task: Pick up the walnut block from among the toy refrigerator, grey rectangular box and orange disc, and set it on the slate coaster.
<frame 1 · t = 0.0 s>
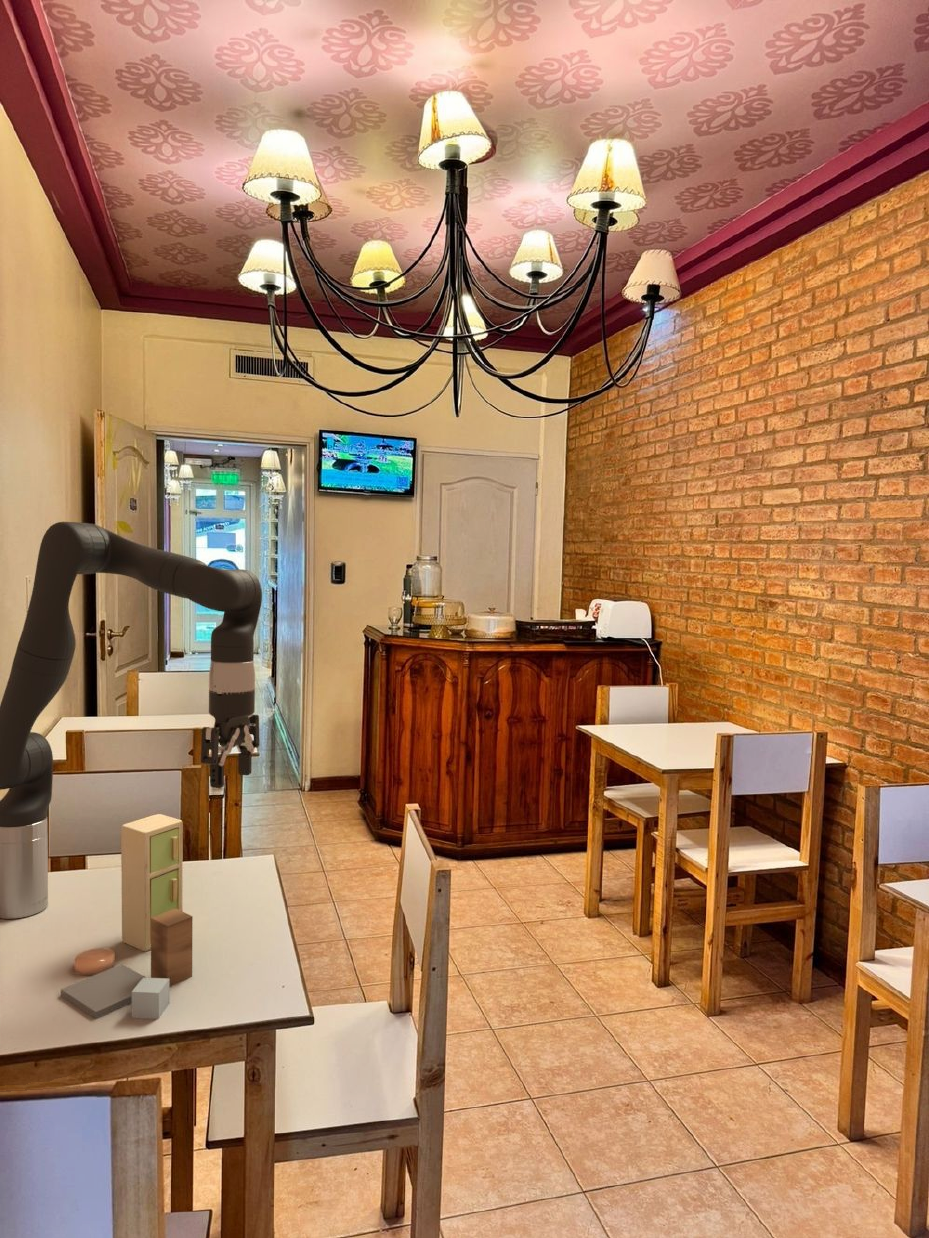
hand: (231, 780, 138), 29 cm above the table, tool pointing down, fingers open, 8 cm apart
walnut block: (171, 977, 129), on the table
slate coaster: (109, 992, 124), on the table
orange disc: (94, 965, 132), on the table
grey rectangular box: (151, 1010, 120), on the table
toy refrigerator: (153, 940, 142), on the table
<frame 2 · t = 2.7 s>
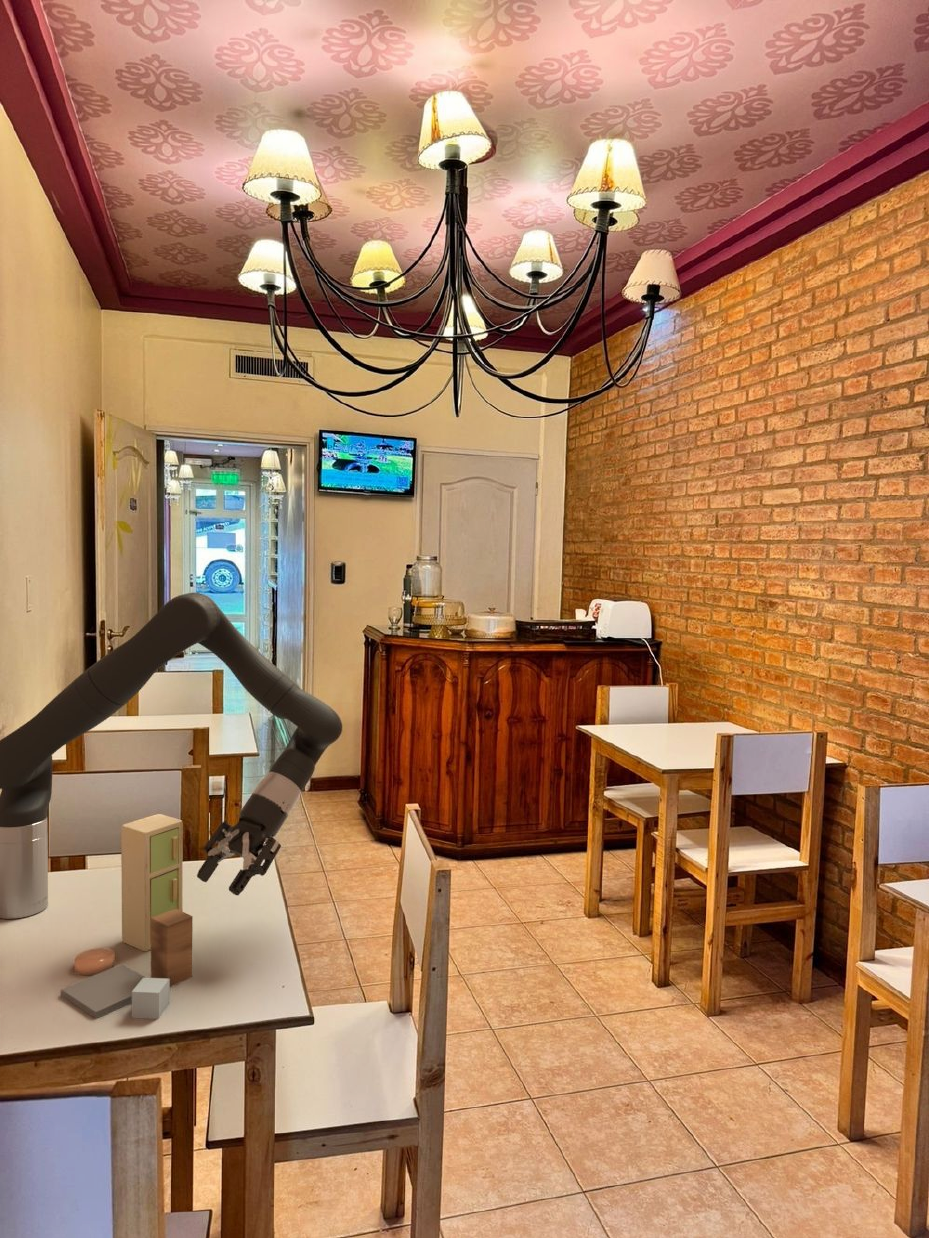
hand: (216, 886, 136), 12 cm above the table, tool tilted 45°, fingers open, 8 cm apart
nothing on the table moved.
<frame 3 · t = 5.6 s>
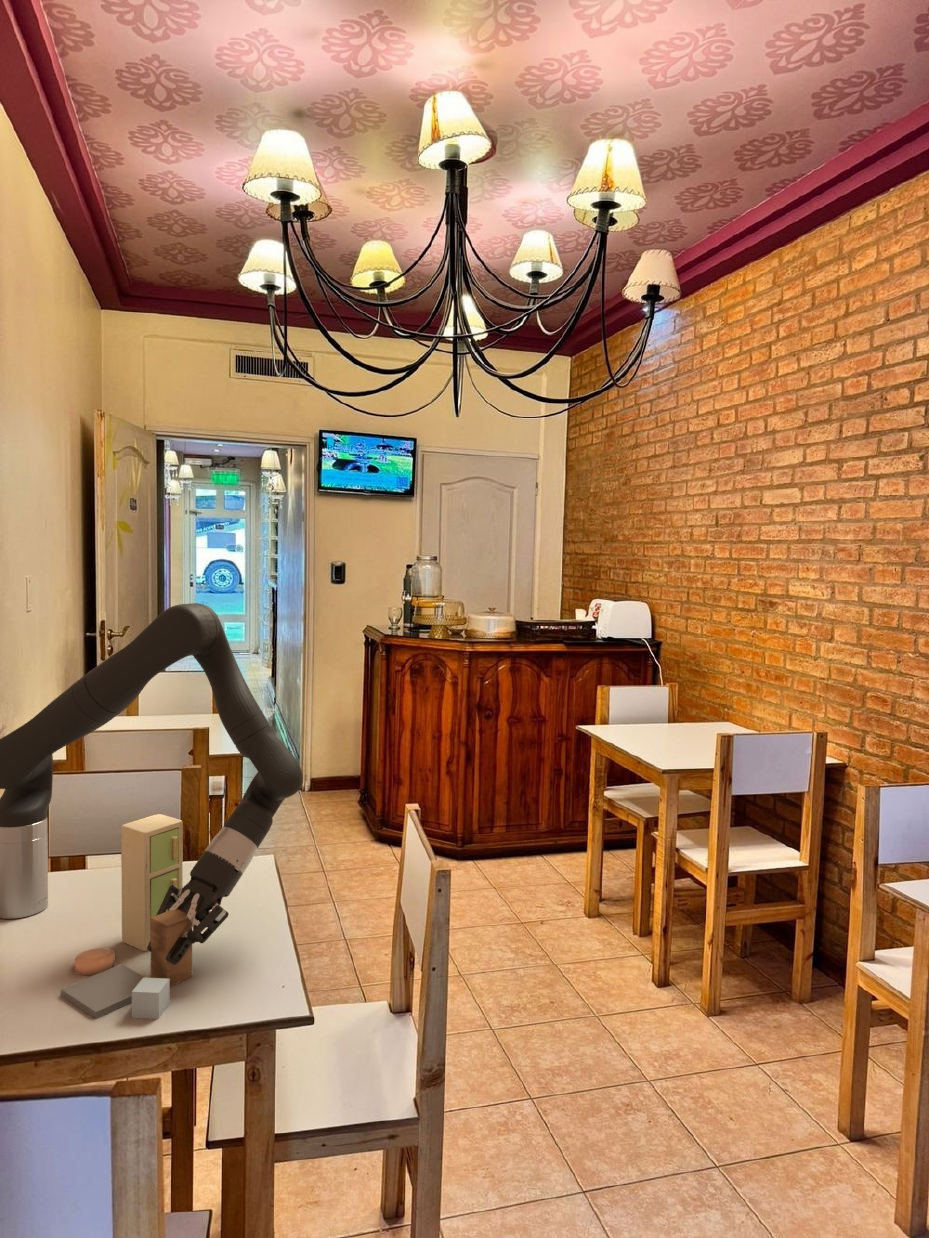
hand: (161, 956, 128), 4 cm above the table, tool tilted 45°, fingers closed on walnut block, 4 cm apart
walnut block: (171, 977, 129), on the table, touching gripper
everything else where it was.
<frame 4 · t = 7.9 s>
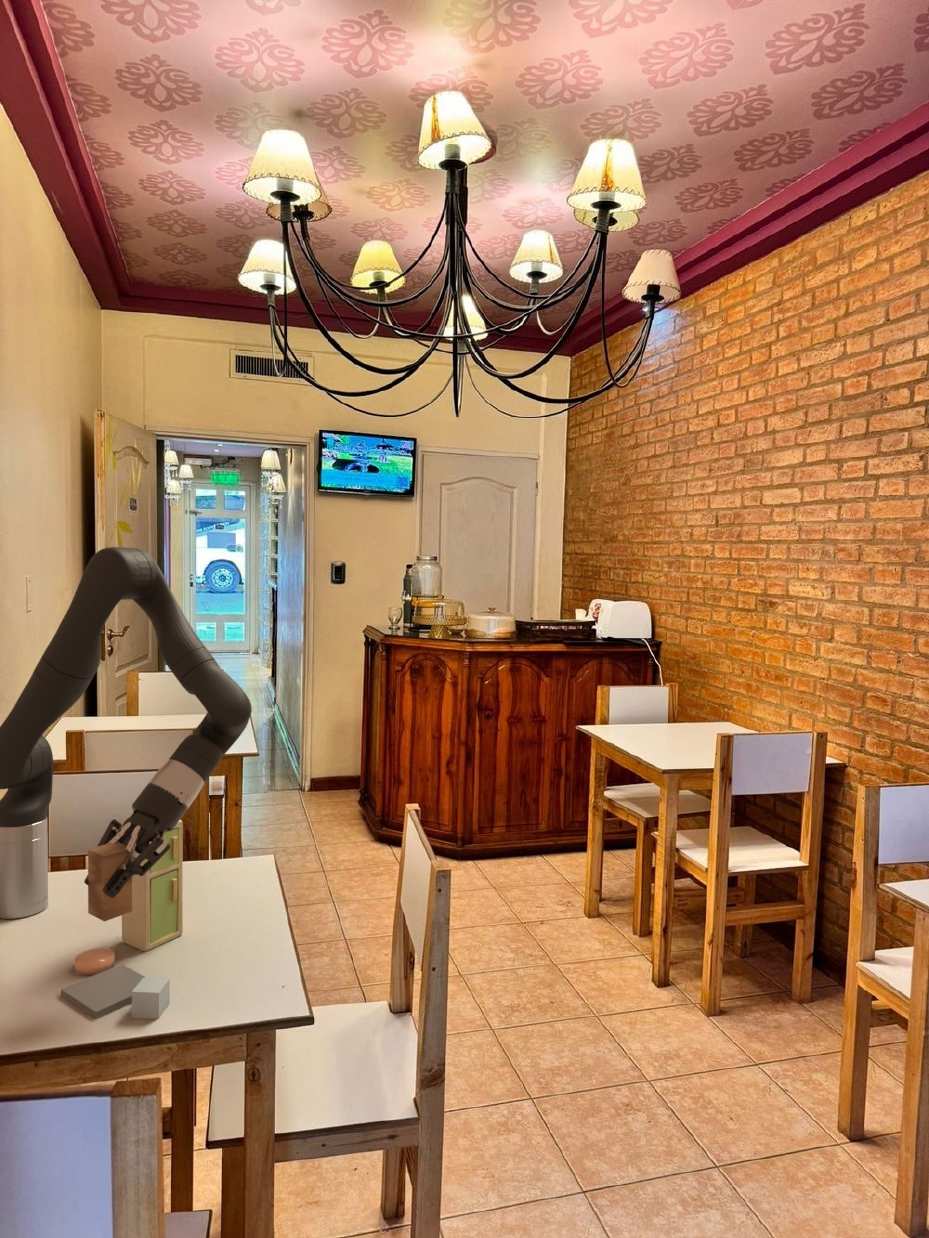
hand: (98, 889, 122), 17 cm above the table, tool tilted 45°, fingers closed on walnut block, 4 cm apart
walnut block: (110, 912, 124), point 13 cm above the table, touching gripper
everything else where it was.
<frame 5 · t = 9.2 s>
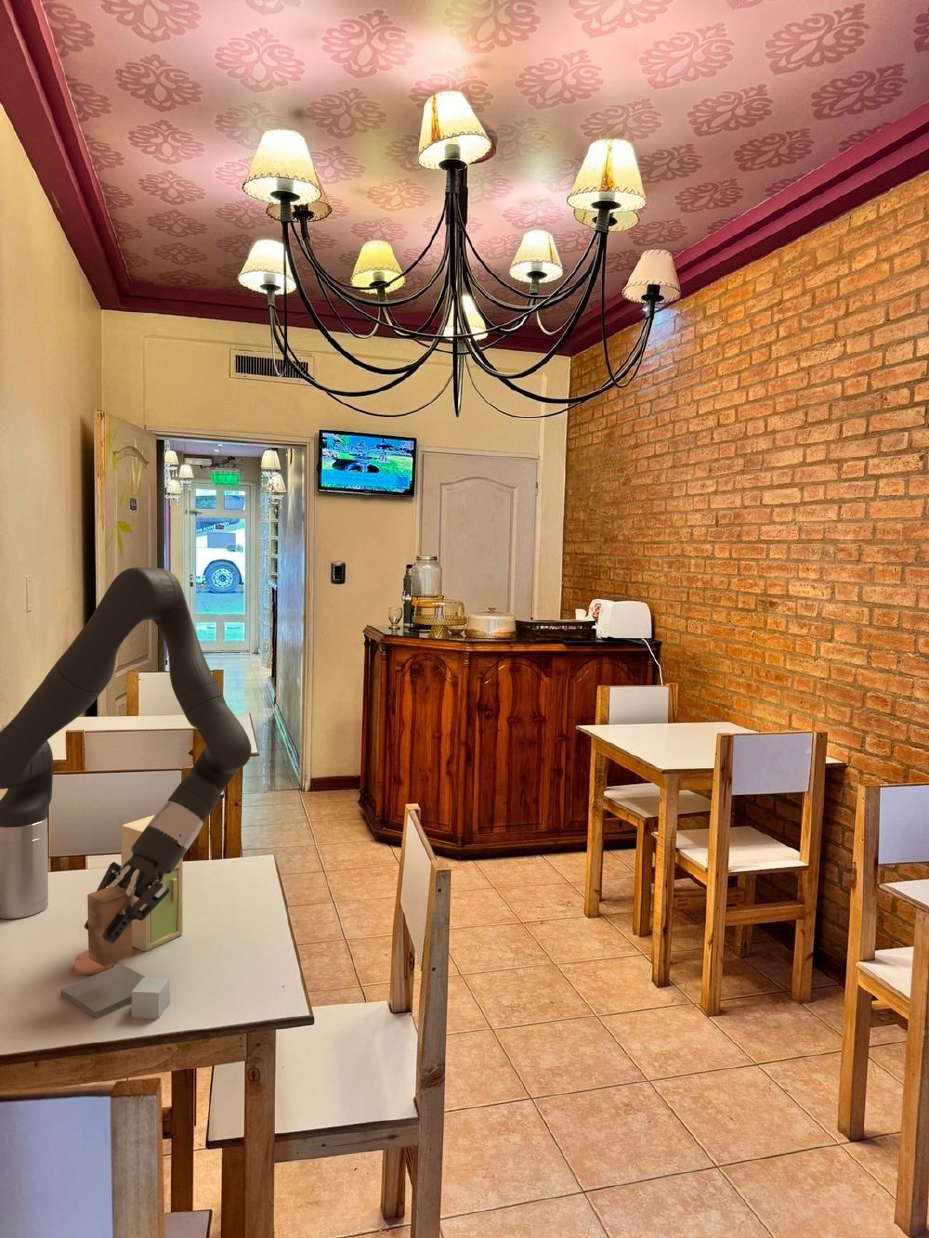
hand: (98, 935, 122), 10 cm above the table, tool tilted 45°, fingers closed on walnut block, 4 cm apart
walnut block: (110, 956, 124), point 6 cm above the table, touching gripper
everything else where it was.
when the fingers open (7 cm above the table, at t = 10.2 s): walnut block drops 1 cm, resting on slate coaster.
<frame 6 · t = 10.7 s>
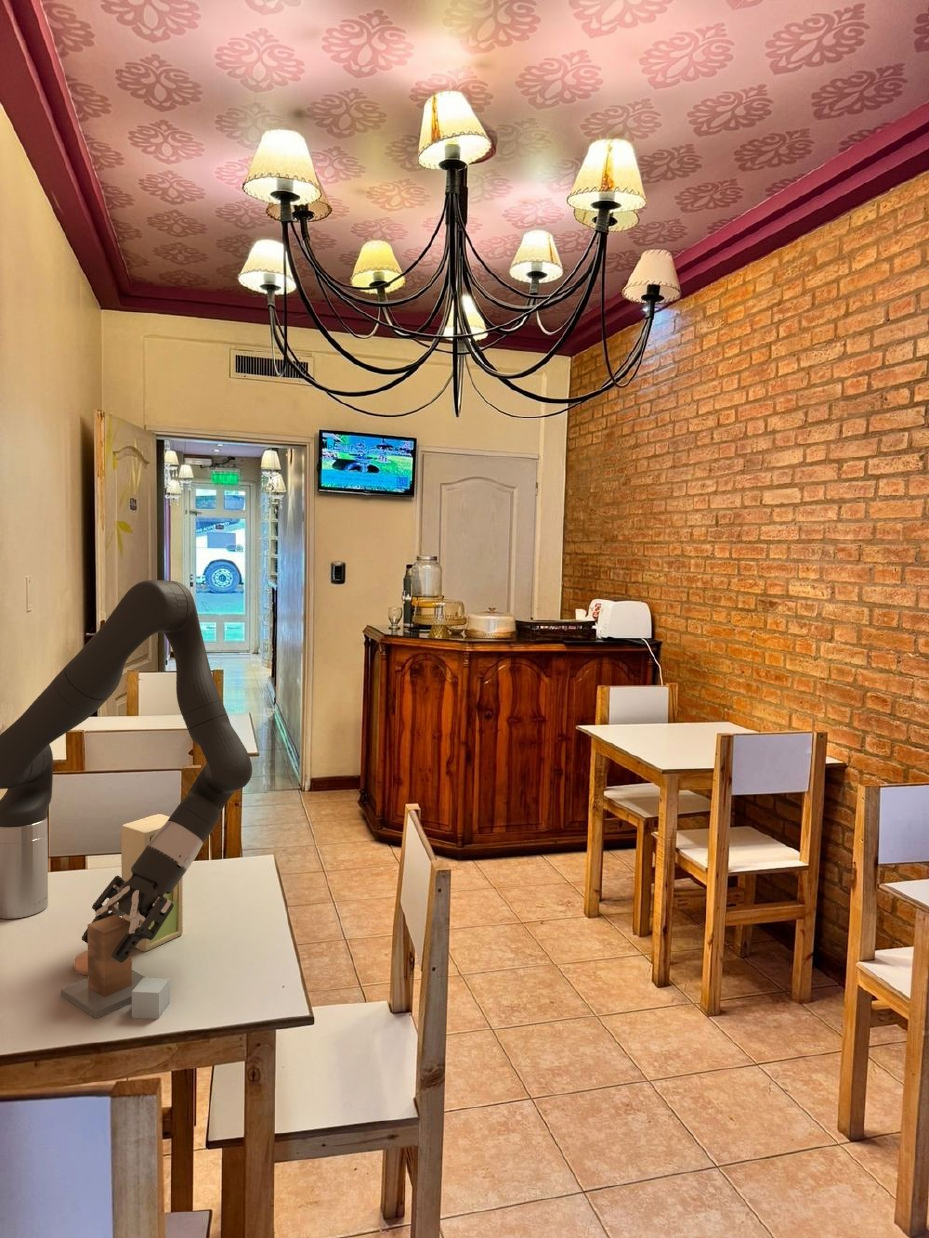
hand: (101, 951, 123), 7 cm above the table, tool tilted 45°, fingers open, 8 cm apart
walnut block: (109, 986, 124), point 1 cm above the table, touching slate coaster
everything else where it was.
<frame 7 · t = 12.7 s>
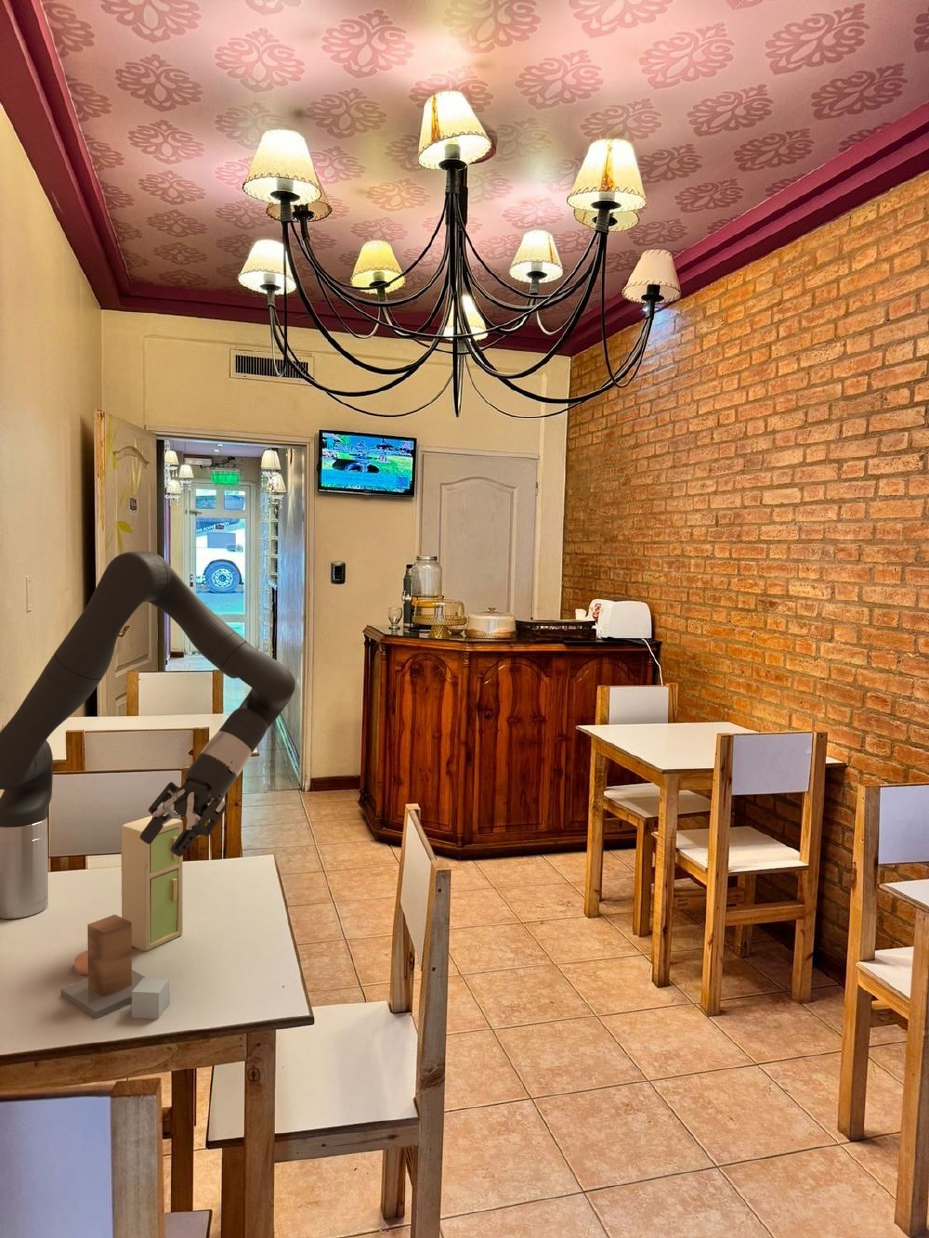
hand: (159, 847, 130), 21 cm above the table, tool tilted 45°, fingers open, 8 cm apart
nothing on the table moved.
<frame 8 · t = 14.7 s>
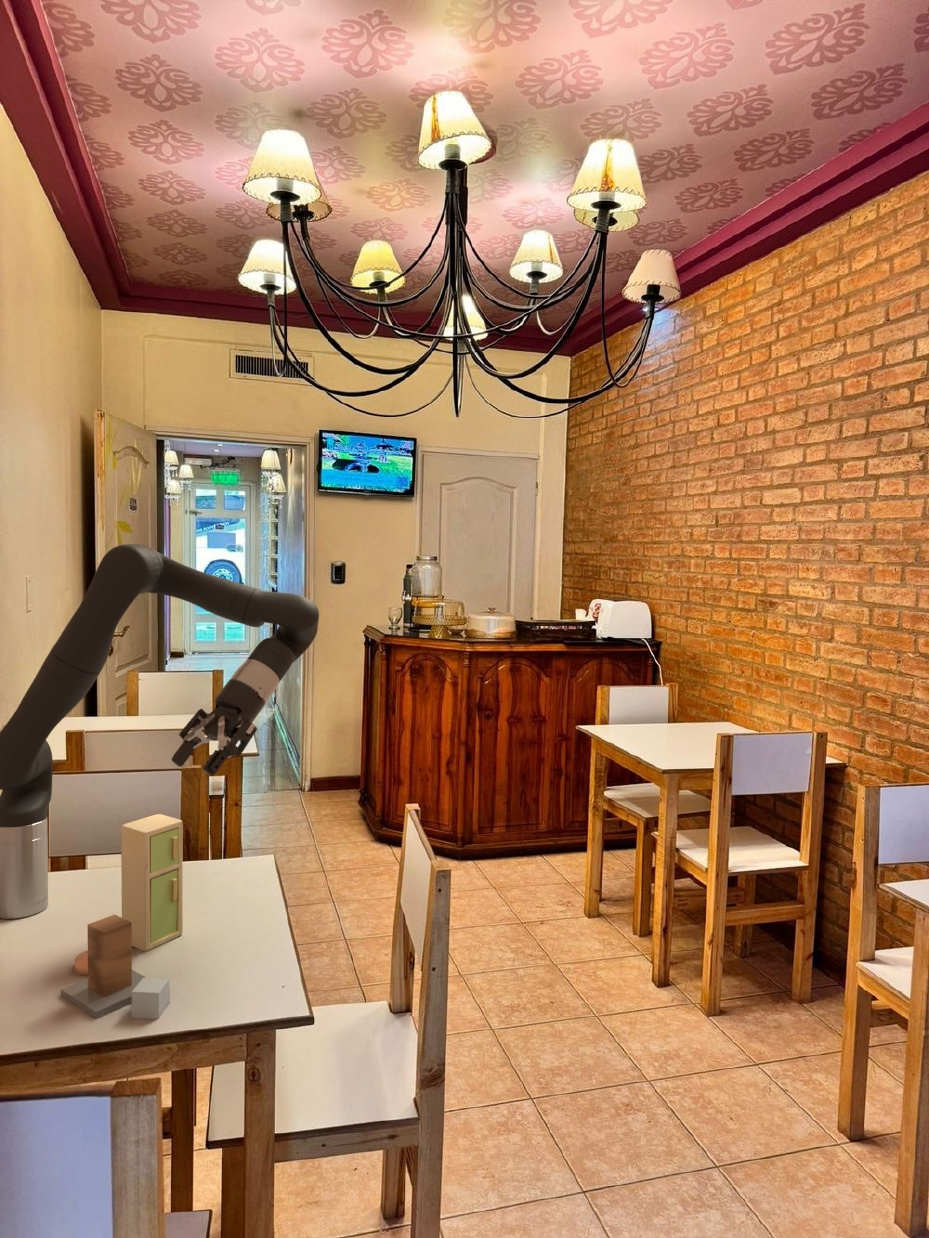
hand: (191, 768, 133), 33 cm above the table, tool tilted 45°, fingers open, 8 cm apart
nothing on the table moved.
at the end: walnut block inside the target area on the slate coaster (0.1 cm from its centre), point 1.0 cm above the slate coaster's base; walnut block tilted 0°; the gripper is holding nothing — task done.
